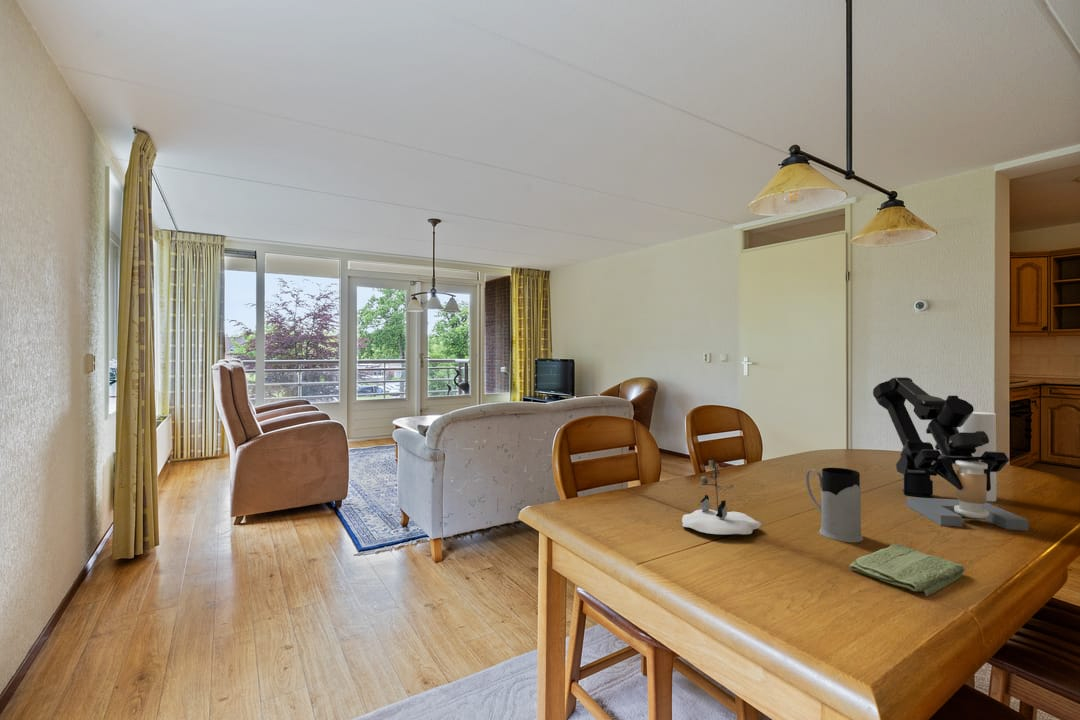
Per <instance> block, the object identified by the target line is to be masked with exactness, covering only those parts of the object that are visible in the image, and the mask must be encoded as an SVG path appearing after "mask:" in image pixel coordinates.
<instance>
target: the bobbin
mask: <svg viewBox="0 0 1080 720" xmlns="http://www.w3.org/2000/svg"><path fill="white" fill-rule="evenodd" d="M955 467H958V470H956V474H957V476H958V478H959V480H960V482H961V485H962V487H963V488H962V489H961V490H959V489H957V488H956V500H959V505H957V506H954V512H955V513H956V514H959V515H962V517H967V518H972V519H982V520H983V519H984V520H985V519H986V518H989V511H987V510H985V509H984V504H985V503H988V501H987V474H985V473H984V469H988V464H986V463H983V462H978V461H969V460H956V464H955Z"/></svg>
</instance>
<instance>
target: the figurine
mask: <svg viewBox="0 0 1080 720" xmlns="http://www.w3.org/2000/svg"><path fill="white" fill-rule="evenodd" d="M718 467H719V463H717V461H715V460H713V459H712V460H708V468H710V469H713V472H714V473H712V472H710V473H709V478H710V479H711V478H712V479H713V481H714V482H715V483H708V482H711V481H712V479H711V480H709V481H708V477H707V476H701V478H700V479H701V483H700V485H701V486H715V491H716V492H715V495H716V510H714V509H711V504H710V498H709V495H707V494H705V495H704V497H703V498H702V499H701V501H700V502H699V504H698V505H697V506H700V509H697V510H694V511H692V512H691V513H685V514H684V515H682V518H681V523H682V527H683V528H690V529H693V530H695V531H697V532H700V533H705V534H711V535H750V534H751V535H752V533H753V531H754V530H757V529H759V528H760V527H761V526H762V523H761V522H760V521H758V520H755V519H754V518H752V517H751V516H748V514H746V513H743V512H740V511H728V508H727V503H726V502H727V500H726V499H725V500H721V501H720V502H721V503H720V504H719V495H718V489H720V490H722V486H720V485H719V486H718V479H717V478H718V477H719V476H718V475H720V471H719V470H718ZM730 488H735V485H734V484H730V486H729V487H727V490H729V489H730Z"/></svg>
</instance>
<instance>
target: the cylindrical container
mask: <svg viewBox="0 0 1080 720" xmlns="http://www.w3.org/2000/svg"><path fill="white" fill-rule="evenodd" d="M996 418H997V414H996V413H995V412H986V411H973V412H972V414H971V415H970V416H969V418H968V419H967V420H966V422H965V423H964V424H963V426H962V432H966V433H974V432H976V431H984V432H985V433H986V434H987V436H988V438H989V443H987V444H985V445H983V446H979V447H976V448H975V449H976V452H975V453H972V456H974V457H981V456H982V455H983V453H984V452H985V451H992V452H997V429H996V428H997V422H996V421H997V419H996ZM990 481H991V490H990V491H987V502H996V501H997V472H990Z"/></svg>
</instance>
